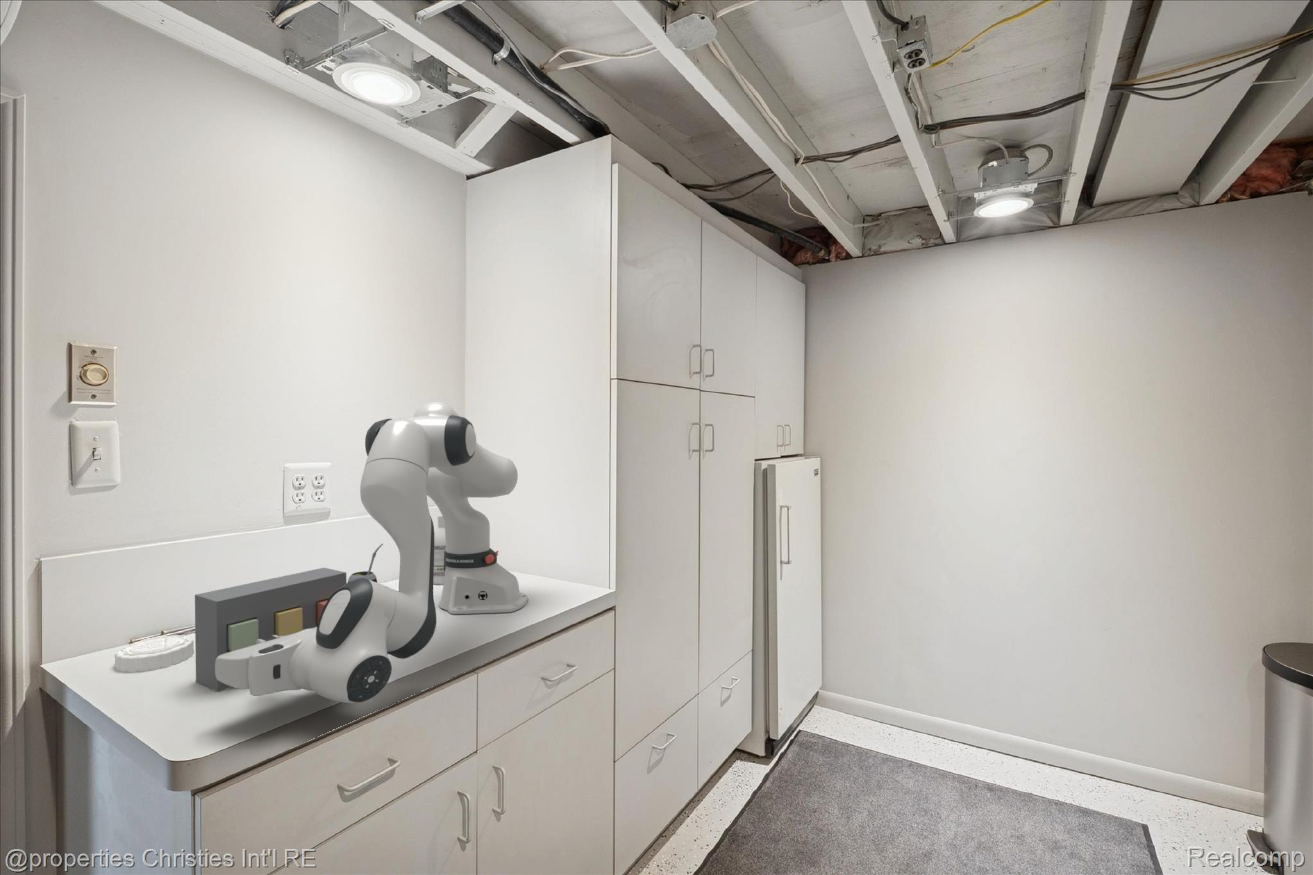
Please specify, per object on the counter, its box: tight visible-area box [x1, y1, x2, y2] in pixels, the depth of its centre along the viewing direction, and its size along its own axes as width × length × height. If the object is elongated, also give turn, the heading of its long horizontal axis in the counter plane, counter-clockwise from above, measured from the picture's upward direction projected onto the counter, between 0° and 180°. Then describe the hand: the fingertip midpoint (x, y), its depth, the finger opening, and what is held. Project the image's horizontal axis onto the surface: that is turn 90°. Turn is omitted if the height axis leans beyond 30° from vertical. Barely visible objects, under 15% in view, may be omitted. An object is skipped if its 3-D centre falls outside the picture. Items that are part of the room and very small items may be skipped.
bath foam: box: [433, 514, 446, 586], centre depth 178 cm, size 7×7×20 cm
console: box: [194, 567, 347, 693], centre depth 118 cm, size 8×24×16 cm, turn 150°
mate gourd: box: [347, 543, 384, 583], centre depth 157 cm, size 8×8×15 cm
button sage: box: [227, 618, 259, 651], centre depth 109 cm, size 3×4×4 cm
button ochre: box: [274, 607, 303, 636], centre depth 116 cm, size 3×4×4 cm
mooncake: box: [114, 634, 195, 674], centre depth 119 cm, size 12×12×4 cm
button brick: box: [316, 599, 328, 624], centre depth 122 cm, size 3×4×4 cm
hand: (265, 641), depth 105 cm, fingers closed
